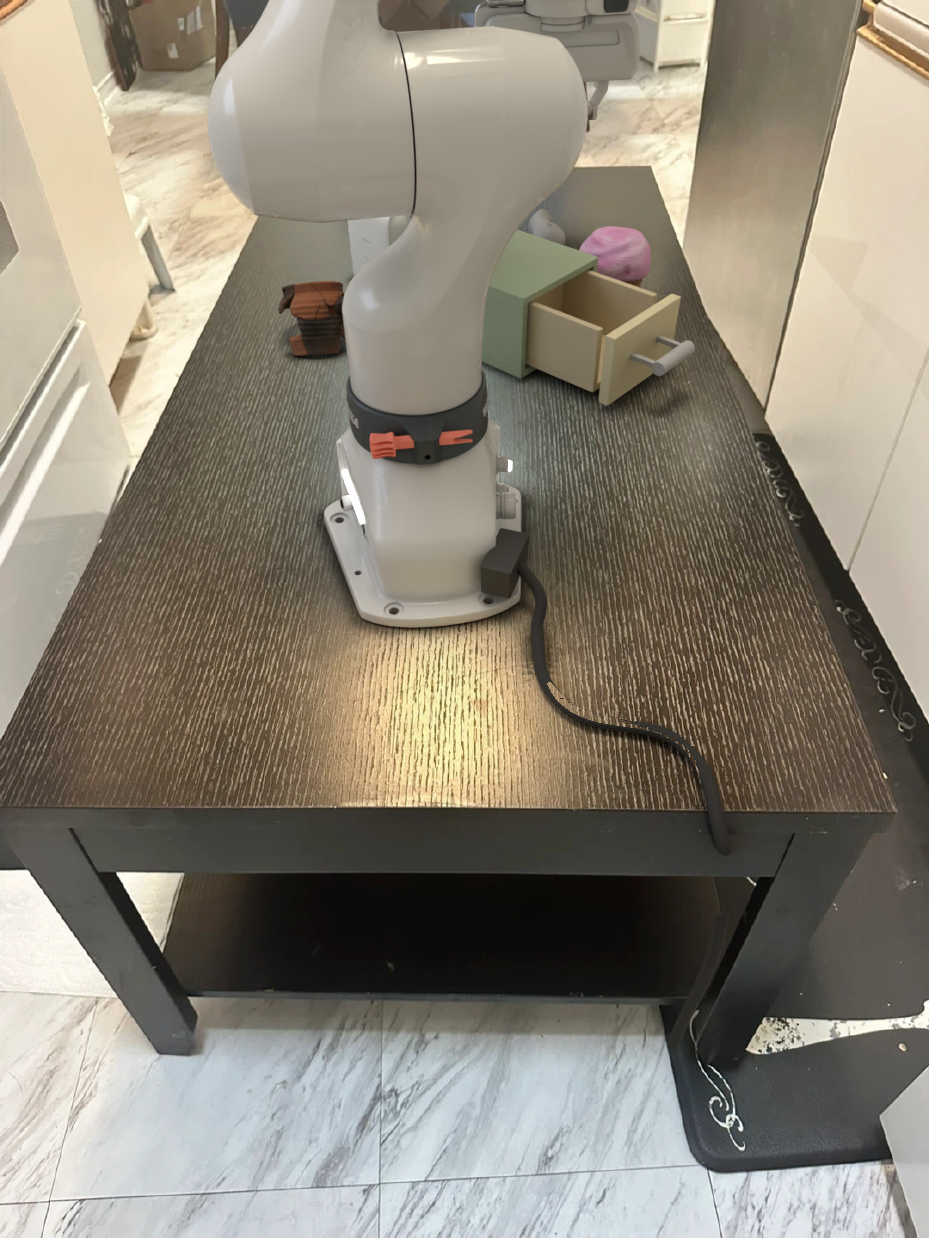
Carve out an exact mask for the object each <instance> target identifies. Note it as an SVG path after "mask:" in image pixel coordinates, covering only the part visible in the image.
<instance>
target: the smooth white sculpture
mask: <svg viewBox="0 0 929 1238" xmlns="http://www.w3.org/2000/svg"><path fill="white" fill-rule="evenodd" d="M527 233H529V234H532V235H535V236H538V237H541V238H544V239H547V240H550V241H552V242H555V243H558V244H561V245H564V246H565V243H566V235H565V232H564V231H563V230H562V228H561V227H560V226H559V225H558V224H556V223H554V222H552V216H551V214H550V212H549V211H548V209H545V208H540V209H538V210H537V211H535V212H534V214H533V215H532V216H531V218H530V220H529V221H528V225H527Z"/></svg>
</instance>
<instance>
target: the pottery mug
mask: <svg viewBox="0 0 929 1238" xmlns="http://www.w3.org/2000/svg"><path fill="white" fill-rule="evenodd" d="M281 292H282V298H281V299H280V300H279V303H278V308H277V311H278V314H279V315H282V314H283V313H284V312H285V310H288V309H289V312H290V314H291V316H292V317H294V318H296V323H297V325H298V328H299V331H300V333H299V334H298V335H294V336H289V338H288V341H289V345H290V348H291V350H292V354H293V356H294V357H295V356H297V357H299V356H307V355H308V356H311V355H316V356H324V355H335V354H336V355H337V354H339V353H340V351H341V350H340V344H341V339H342V340H344V341H345V342H346V340H345V331H344V323H343V314H342V303H343V298H344V294H345V291H344V283H343V282H341V281H334V280H318V281H311V282H309V281H308V282H307V281H305V282H299V283H292V284H288V285H286V286H282V287H281Z"/></svg>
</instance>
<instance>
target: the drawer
mask: <svg viewBox="0 0 929 1238" xmlns="http://www.w3.org/2000/svg"><path fill="white" fill-rule="evenodd" d="M681 299H682V296H681V295H677V294H676V293H670V294H669V295H667V296H665V297H664V298H662V299H661V300H659V301H657V300H658V293H656V292H653V291H651V290H648V289H645V288H642V287H640V288H639V287H637V286H634V285H631V284H628V283H625V282H622V281H619V280H617V279H614V278H611V277H608V276H605V275H602V274H599V273H597V272H594V271H591V270H586V271H584V272H582V273H581V274H579V275H577V276H575V277H574V278H572V279H570V280H568V281H567V282H565V283H563V284H561V285H559V286H558V287H556V288H554V289H552V290H551V291H549V292H547V293H545V294H543V295H542V296H540V297H538V298H536V299H535V300H533V301H531V302H529V303H527V304H528V312H527V336H526V361H525V364H527V365H530V366H532V367H534V368H537V369H536V370H538V371H542V372H544V373H546V374H548V375H550V376H553V377H556V378H557V379H560V380H562V381H565V382H567V383H569V384H572V385H574V386H576V387H578V388H581V389H583V390H585V391H588V392H590V393H595V392H596V391H597V390H598V389H599V393H598V403H600V404H602V405H604V406H606V407H608V406H609V405H611V404H612V403H614V402H615V401H616V400H618V399H619V398H620V397H622V396H623V395H625V394H626V393H628V392H629V391H631V390H632V389H633V388H634V387H636V386H637V385H639V384H640V383H642V382H643V381H645V380H646V379H647V378H649V377H650V376H651V375H653V374H654V375H655V376H656V377H661V376H664V375H665V374H667V373H668V372H669V371H670V370H672V369H674V368H675V367H676V366H678V365H679V364H680V363H682V362H684V361H685V360H686V359H688V358H689V357H690V356H692V355H693V354H694V353H695V351H696V346H695V343H694V342H693V341H691V340H688V339H687V340H684V341H682V342H679V341H677V340H675V334H676V328H677V323H678V321H677V320H678V317H679V312H680V311H679V310H680V306H681Z"/></svg>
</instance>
